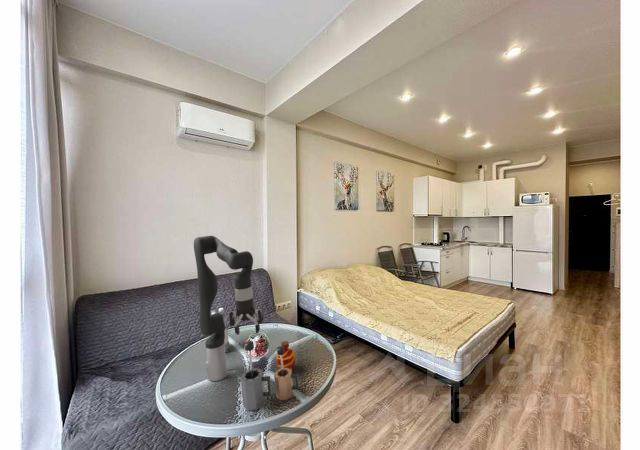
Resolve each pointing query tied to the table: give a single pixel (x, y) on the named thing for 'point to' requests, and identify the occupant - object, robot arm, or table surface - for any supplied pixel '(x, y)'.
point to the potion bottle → (286, 357)
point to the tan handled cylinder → (285, 384)
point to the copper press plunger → (280, 352)
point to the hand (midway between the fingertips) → (247, 333)
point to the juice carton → (222, 312)
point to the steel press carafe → (254, 389)
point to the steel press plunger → (249, 347)
